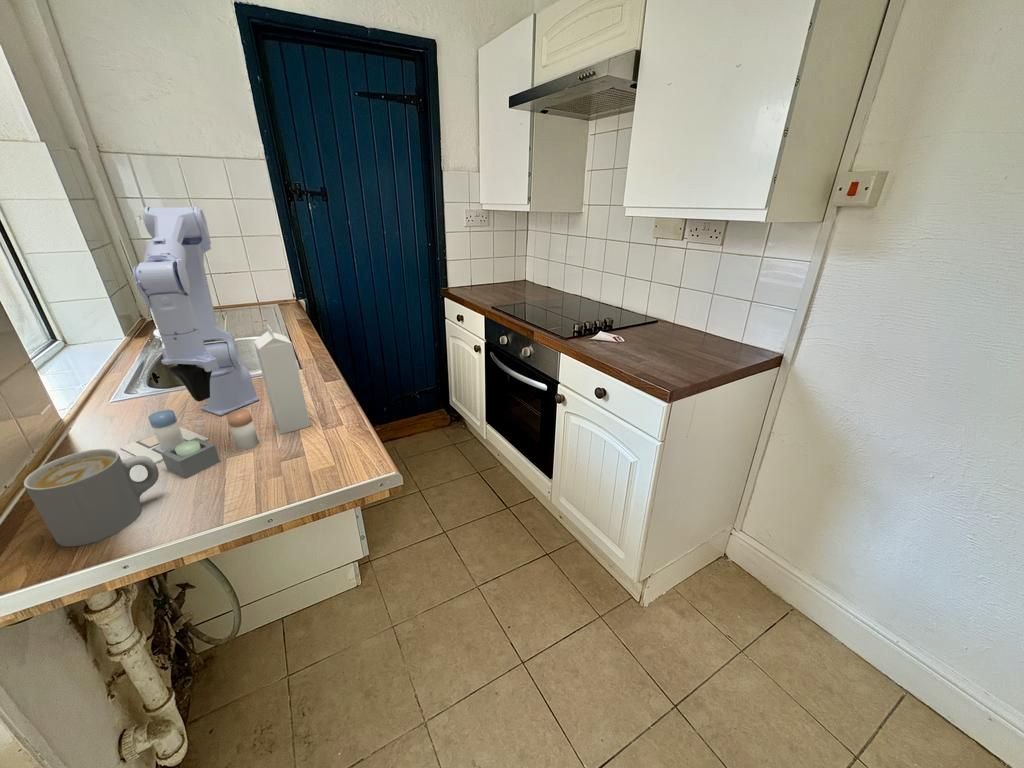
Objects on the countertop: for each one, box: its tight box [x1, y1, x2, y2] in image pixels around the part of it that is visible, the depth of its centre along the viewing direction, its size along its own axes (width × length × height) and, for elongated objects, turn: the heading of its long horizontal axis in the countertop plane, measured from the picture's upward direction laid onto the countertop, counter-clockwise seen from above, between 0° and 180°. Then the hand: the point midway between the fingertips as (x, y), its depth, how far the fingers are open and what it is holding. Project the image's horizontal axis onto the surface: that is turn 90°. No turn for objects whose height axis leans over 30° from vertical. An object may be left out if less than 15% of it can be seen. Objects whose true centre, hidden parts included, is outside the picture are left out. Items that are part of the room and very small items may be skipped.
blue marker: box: [148, 409, 185, 451], centre depth 82 cm, size 4×4×7 cm
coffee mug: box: [23, 448, 160, 547], centre depth 64 cm, size 13×10×10 cm
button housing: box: [161, 437, 221, 479], centre depth 78 cm, size 6×6×4 cm
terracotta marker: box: [226, 408, 259, 451], centre depth 83 cm, size 4×4×7 cm
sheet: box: [120, 426, 209, 465], centre depth 85 cm, size 10×12×1 cm
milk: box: [253, 324, 311, 435], centre depth 88 cm, size 6×6×22 cm
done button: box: [175, 441, 201, 458], centre depth 77 cm, size 4×4×4 cm
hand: (202, 399), depth 81 cm, fingers closed
